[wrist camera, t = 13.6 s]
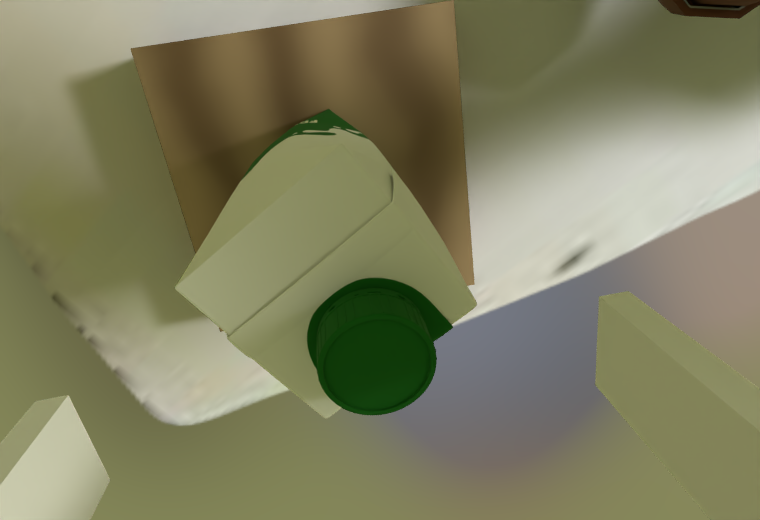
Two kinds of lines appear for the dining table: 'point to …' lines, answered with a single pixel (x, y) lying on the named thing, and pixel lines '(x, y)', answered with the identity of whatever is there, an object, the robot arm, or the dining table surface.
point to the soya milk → (330, 272)
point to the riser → (316, 106)
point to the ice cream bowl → (710, 7)
